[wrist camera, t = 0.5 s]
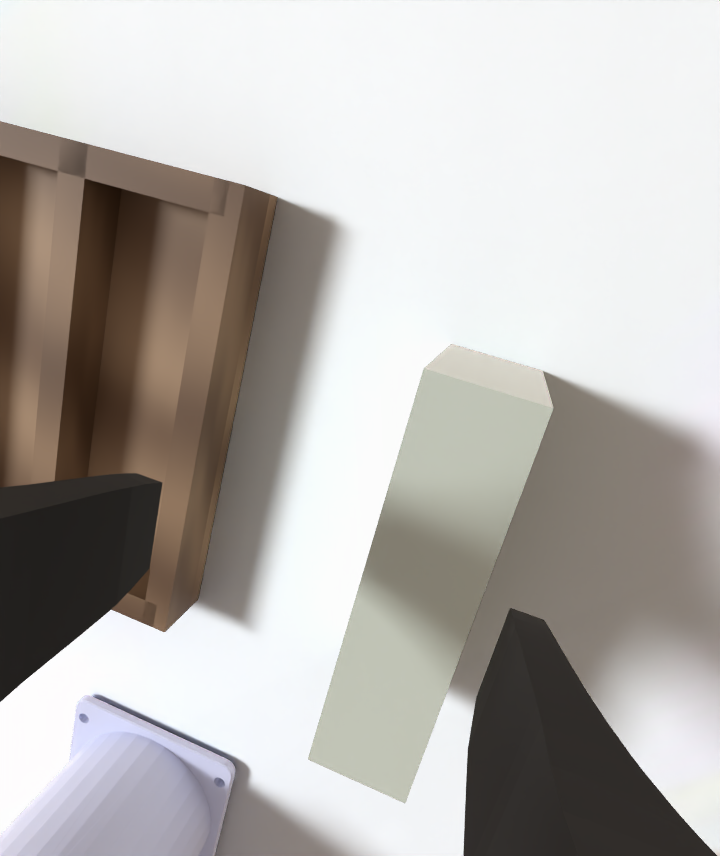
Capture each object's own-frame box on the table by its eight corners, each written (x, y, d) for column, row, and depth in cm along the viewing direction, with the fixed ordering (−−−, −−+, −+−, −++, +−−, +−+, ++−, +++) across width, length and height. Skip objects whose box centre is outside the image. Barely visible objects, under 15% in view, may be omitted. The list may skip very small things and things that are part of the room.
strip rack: (198, 599, 24) (164, 632, 21) (-127, 465, 27) (-186, 482, 25) (277, 196, 19) (245, 185, 17) (-129, 90, 22) (-202, 68, 20)
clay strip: (434, 669, 22) (405, 803, 16) (360, 640, 22) (308, 759, 17) (542, 370, 18) (553, 408, 13) (452, 343, 19) (423, 368, 13)
